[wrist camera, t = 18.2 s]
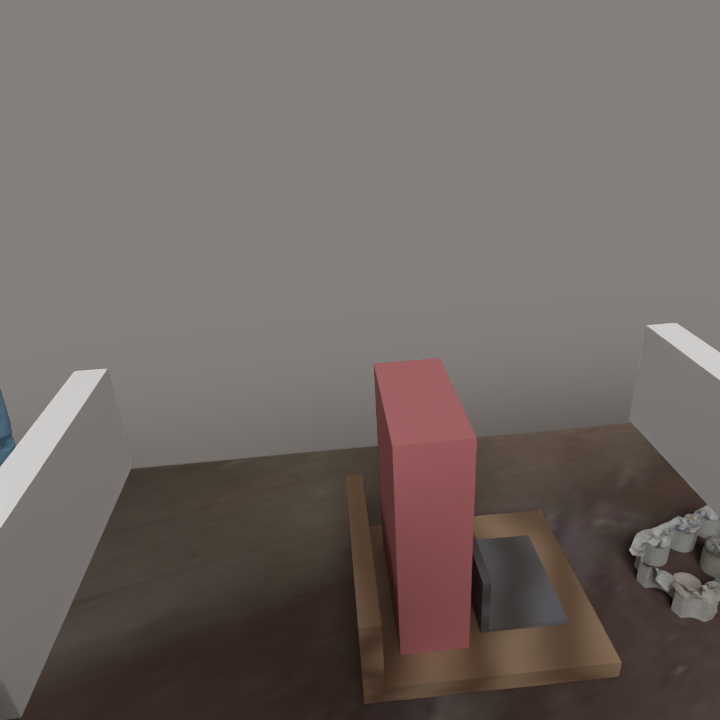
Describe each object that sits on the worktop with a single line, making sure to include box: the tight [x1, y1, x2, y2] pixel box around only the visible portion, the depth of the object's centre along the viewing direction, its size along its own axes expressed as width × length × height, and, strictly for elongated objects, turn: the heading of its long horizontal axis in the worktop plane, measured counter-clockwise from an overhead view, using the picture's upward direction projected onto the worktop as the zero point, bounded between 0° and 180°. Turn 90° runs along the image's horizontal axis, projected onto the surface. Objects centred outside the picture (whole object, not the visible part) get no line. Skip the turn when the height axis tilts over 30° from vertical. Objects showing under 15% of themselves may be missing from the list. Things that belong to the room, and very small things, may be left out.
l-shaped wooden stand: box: [345, 474, 622, 704], centre depth 47 cm, size 18×16×8 cm
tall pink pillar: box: [374, 358, 477, 655], centre depth 43 cm, size 5×11×18 cm, turn 5°
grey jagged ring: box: [629, 505, 720, 622], centre depth 48 cm, size 11×8×4 cm
